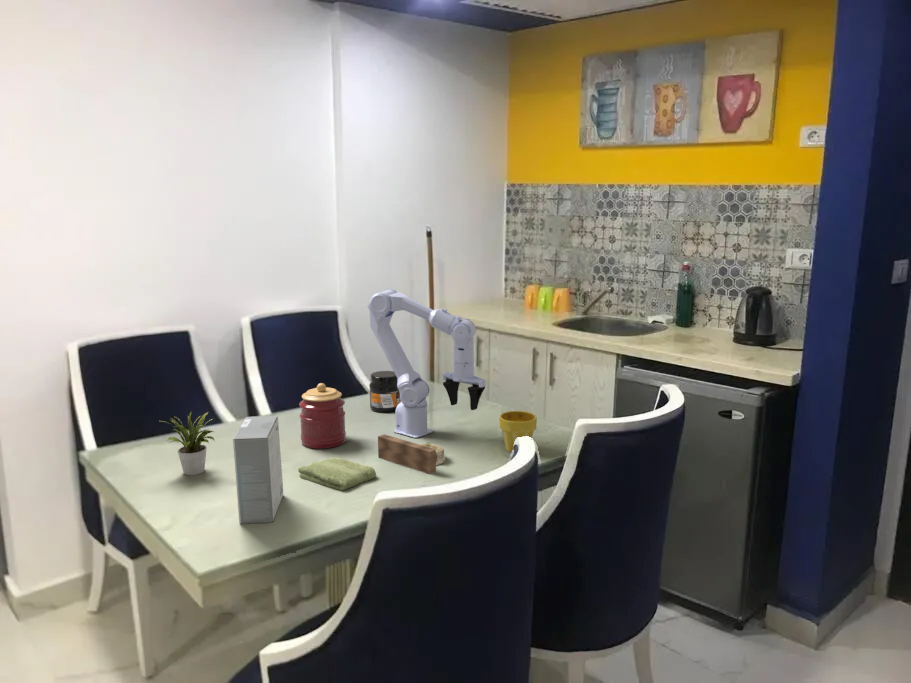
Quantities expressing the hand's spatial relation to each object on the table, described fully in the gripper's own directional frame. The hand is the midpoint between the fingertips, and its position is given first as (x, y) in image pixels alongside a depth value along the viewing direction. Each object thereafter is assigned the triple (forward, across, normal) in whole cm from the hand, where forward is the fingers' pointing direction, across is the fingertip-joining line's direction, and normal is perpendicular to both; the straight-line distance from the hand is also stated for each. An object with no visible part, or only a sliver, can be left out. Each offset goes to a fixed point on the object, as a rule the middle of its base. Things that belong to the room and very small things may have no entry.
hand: (463, 406), depth 215 cm
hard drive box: (+10, -4, -68) cm, 69 cm away
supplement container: (+10, -39, +6) cm, 41 cm away
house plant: (+10, -37, -67) cm, 77 cm away
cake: (+10, +4, -20) cm, 23 cm away
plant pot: (+10, +18, +2) cm, 20 cm away
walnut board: (+9, +2, -26) cm, 28 cm away
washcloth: (+10, -6, -44) cm, 46 cm away
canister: (+10, -29, -29) cm, 42 cm away
